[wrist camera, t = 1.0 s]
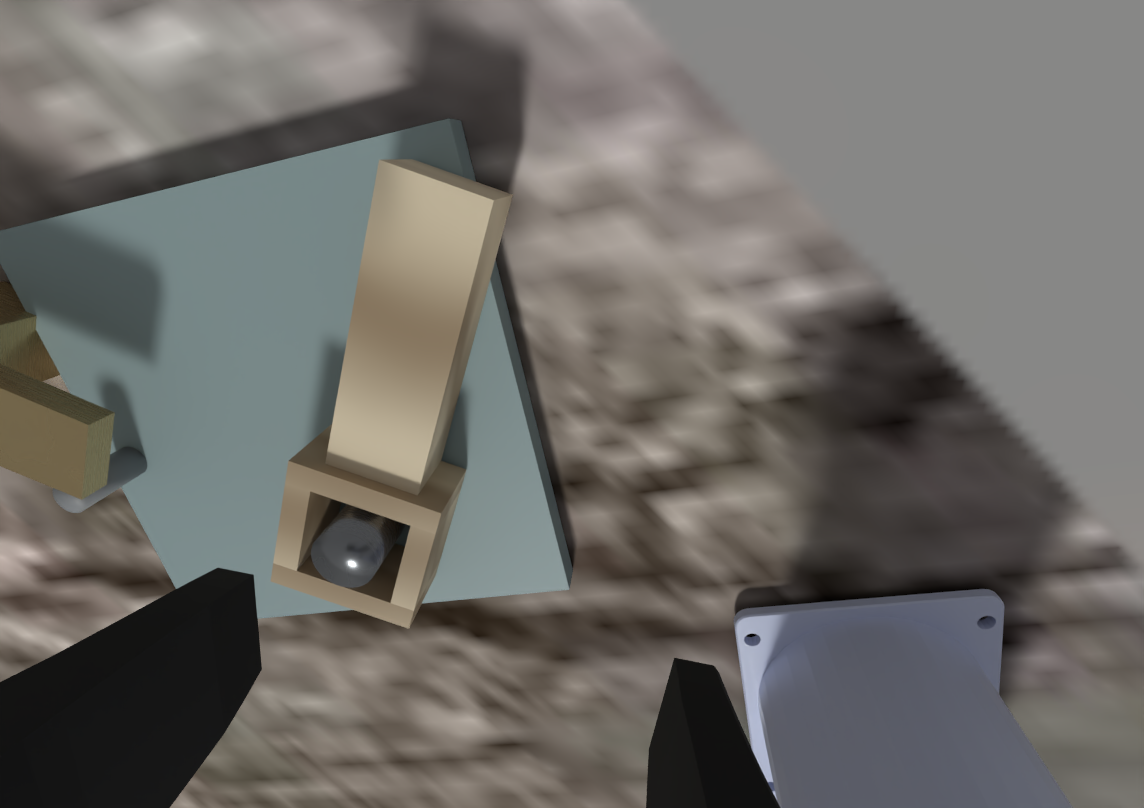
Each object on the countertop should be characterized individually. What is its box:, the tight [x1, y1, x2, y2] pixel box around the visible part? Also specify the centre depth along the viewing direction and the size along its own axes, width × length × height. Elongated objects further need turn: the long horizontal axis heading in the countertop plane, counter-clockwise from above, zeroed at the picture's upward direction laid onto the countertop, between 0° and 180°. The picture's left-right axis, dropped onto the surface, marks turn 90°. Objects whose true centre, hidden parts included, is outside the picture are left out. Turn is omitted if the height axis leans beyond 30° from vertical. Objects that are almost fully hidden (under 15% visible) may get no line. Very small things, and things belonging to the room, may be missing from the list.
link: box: [270, 159, 513, 628], centre depth 16 cm, size 12×4×2 cm, turn 162°
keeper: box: [0, 281, 115, 500], centre depth 17 cm, size 7×2×4 cm, turn 67°
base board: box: [0, 118, 573, 619], centre depth 17 cm, size 14×14×3 cm
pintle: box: [311, 504, 407, 588], centre depth 18 cm, size 2×2×4 cm
